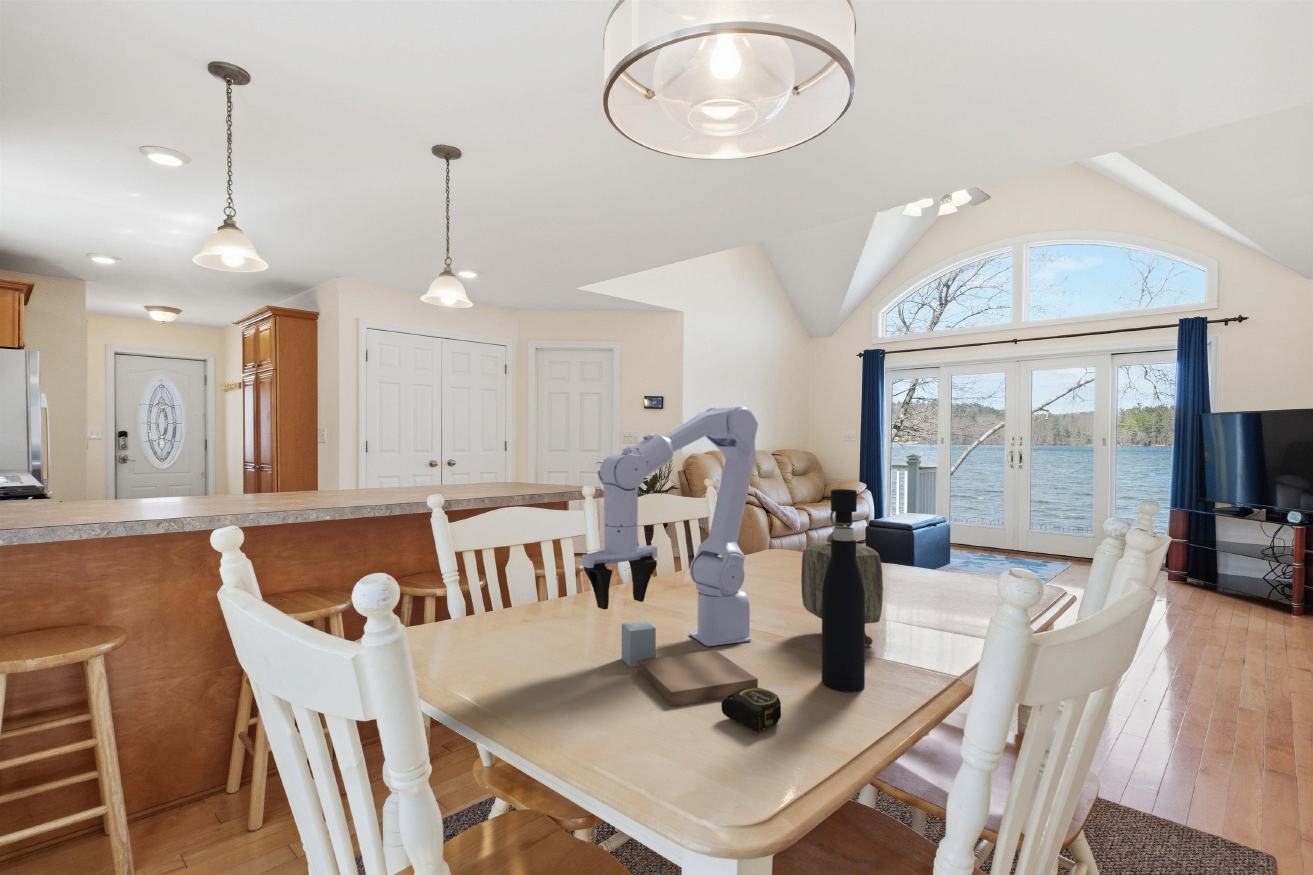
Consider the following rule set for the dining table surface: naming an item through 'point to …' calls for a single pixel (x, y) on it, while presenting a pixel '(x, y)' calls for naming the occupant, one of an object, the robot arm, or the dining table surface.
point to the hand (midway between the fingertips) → (621, 604)
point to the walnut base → (694, 677)
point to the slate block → (638, 642)
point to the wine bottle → (843, 603)
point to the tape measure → (753, 708)
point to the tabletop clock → (815, 570)
